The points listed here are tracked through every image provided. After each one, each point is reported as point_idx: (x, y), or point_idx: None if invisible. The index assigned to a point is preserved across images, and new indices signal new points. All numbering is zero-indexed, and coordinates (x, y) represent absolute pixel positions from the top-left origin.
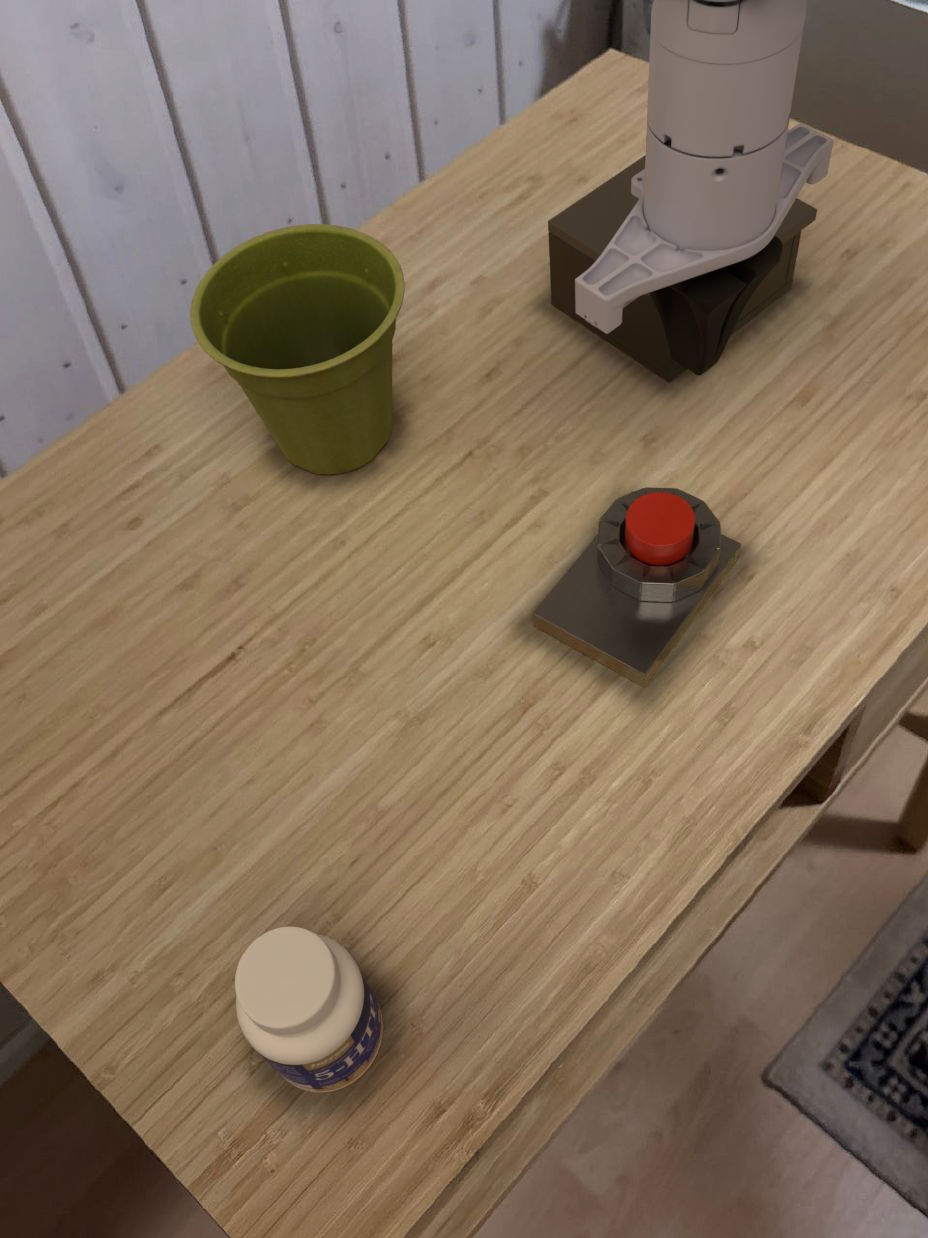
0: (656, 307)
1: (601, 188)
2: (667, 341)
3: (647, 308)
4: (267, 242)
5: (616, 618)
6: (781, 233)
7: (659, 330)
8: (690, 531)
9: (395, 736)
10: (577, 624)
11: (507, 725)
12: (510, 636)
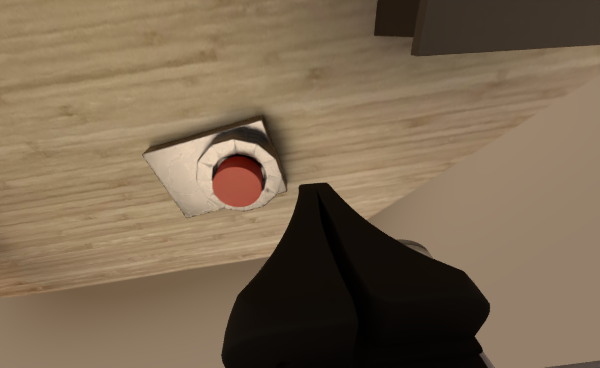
0: (286, 229)
1: None
2: (298, 194)
3: None
4: None
5: (191, 187)
6: (578, 42)
7: (398, 14)
8: (247, 205)
9: (25, 154)
10: (166, 176)
11: (105, 186)
12: (130, 143)
